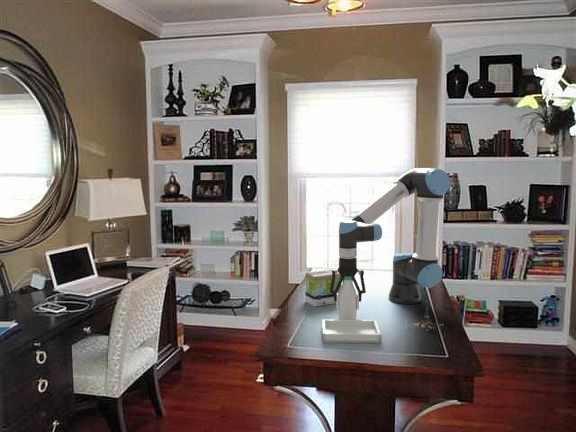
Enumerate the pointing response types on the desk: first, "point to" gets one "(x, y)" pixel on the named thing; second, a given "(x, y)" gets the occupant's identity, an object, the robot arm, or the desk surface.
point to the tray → (350, 331)
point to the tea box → (320, 287)
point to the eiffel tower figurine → (426, 321)
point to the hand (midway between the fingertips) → (347, 308)
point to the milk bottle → (347, 300)
